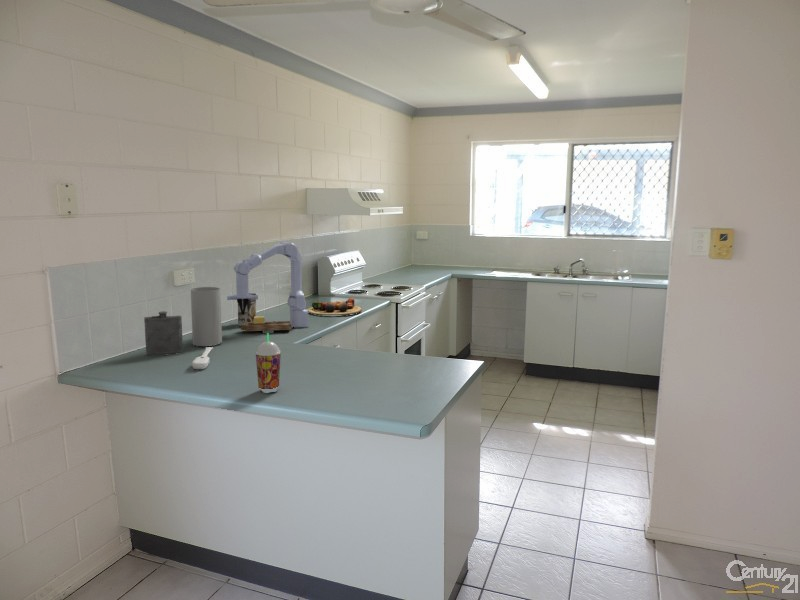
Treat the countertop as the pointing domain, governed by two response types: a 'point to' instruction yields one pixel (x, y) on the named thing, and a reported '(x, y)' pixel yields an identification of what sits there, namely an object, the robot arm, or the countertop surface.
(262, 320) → the block
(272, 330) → the fulcrum
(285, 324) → the brown wooden tray
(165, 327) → the flask
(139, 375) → the countertop surface
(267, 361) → the smoothie
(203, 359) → the spatula
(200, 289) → the cylinder vase
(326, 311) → the wooden plate with food
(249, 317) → the coffee box
